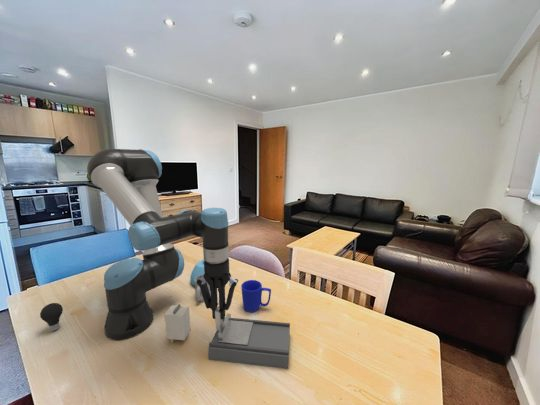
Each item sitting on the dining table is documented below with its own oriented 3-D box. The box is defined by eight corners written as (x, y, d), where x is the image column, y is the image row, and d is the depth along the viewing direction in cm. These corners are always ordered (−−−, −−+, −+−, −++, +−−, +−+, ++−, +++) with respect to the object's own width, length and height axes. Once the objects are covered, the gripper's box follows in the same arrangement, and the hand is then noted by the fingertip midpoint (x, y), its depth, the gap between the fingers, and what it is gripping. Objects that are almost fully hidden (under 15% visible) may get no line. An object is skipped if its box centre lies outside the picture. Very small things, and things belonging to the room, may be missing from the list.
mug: (268, 316, 87) (268, 293, 85) (238, 312, 89) (238, 289, 87) (272, 303, 95) (272, 282, 93) (245, 300, 97) (244, 278, 95)
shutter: (218, 344, 69) (217, 334, 68) (227, 321, 78) (227, 312, 77) (247, 347, 68) (247, 337, 67) (253, 324, 77) (253, 315, 76)
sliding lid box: (208, 359, 68) (208, 345, 67) (222, 328, 81) (222, 315, 80) (288, 368, 65) (288, 354, 64) (289, 334, 78) (289, 322, 77)
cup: (215, 293, 102) (214, 274, 100) (205, 307, 92) (205, 287, 90) (200, 291, 103) (199, 273, 101) (189, 305, 93) (188, 285, 91)
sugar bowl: (228, 279, 114) (227, 257, 112) (205, 293, 101) (204, 269, 99) (207, 271, 122) (206, 251, 120) (184, 283, 109) (182, 261, 107)
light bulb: (41, 338, 75) (35, 311, 73) (47, 327, 80) (42, 302, 78) (62, 332, 78) (58, 306, 76) (68, 322, 83) (63, 297, 81)
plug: (167, 342, 74) (164, 311, 72) (174, 332, 78) (171, 302, 76) (184, 344, 73) (182, 313, 71) (190, 334, 78) (188, 304, 76)
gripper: (190, 263, 66) (195, 333, 70) (233, 265, 64) (235, 337, 68) (201, 252, 73) (204, 317, 77) (240, 254, 71) (241, 320, 76)
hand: (219, 326), depth 73 cm, fingers closed
